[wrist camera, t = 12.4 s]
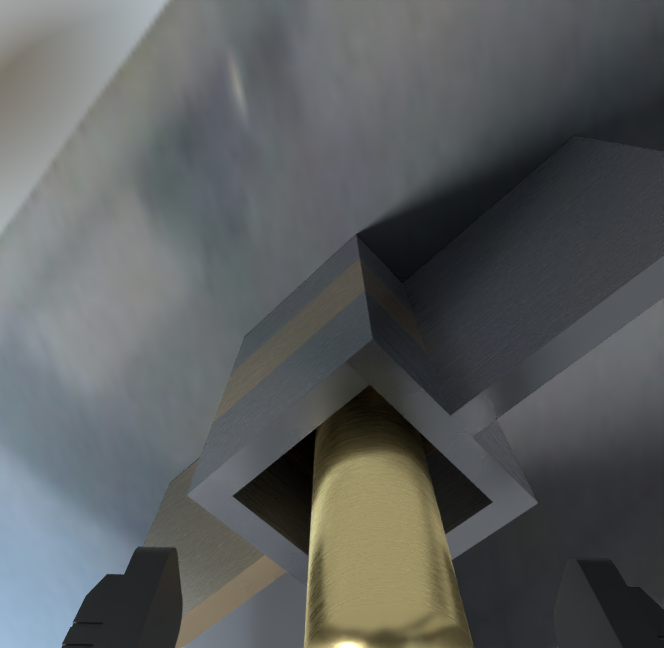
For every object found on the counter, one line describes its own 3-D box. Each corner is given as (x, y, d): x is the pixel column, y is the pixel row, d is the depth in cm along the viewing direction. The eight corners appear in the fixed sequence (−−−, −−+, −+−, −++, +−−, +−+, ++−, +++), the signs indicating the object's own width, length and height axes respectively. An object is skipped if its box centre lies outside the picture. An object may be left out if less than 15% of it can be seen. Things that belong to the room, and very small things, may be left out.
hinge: (529, 75, 19) (706, 58, 10) (626, 207, 20) (852, 295, 11) (123, 448, 25) (4, 648, 16) (225, 526, 26) (170, 745, 17)
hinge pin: (396, 305, 22) (486, 605, 9) (391, 371, 23) (465, 723, 10) (321, 302, 22) (303, 601, 9) (320, 369, 23) (302, 719, 10)
